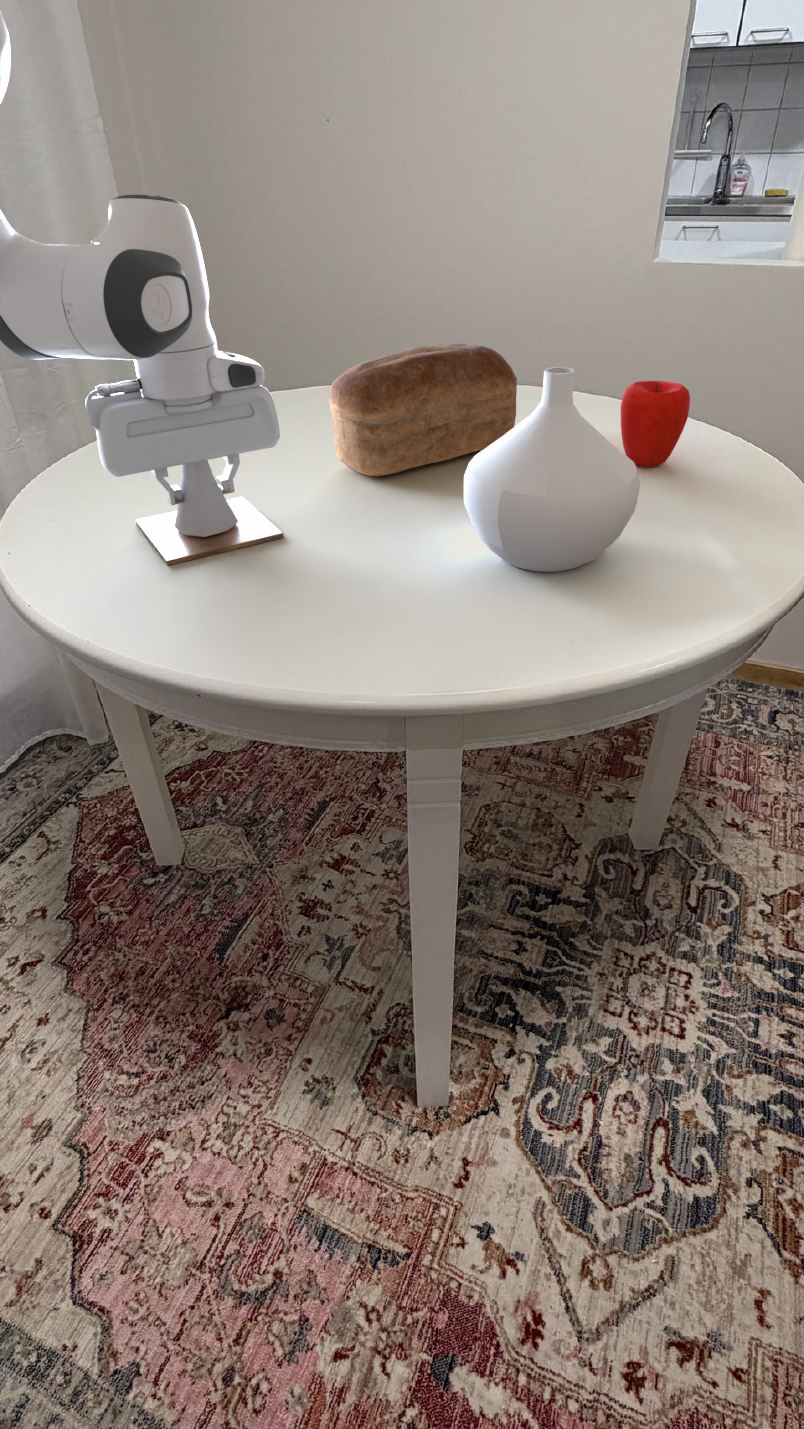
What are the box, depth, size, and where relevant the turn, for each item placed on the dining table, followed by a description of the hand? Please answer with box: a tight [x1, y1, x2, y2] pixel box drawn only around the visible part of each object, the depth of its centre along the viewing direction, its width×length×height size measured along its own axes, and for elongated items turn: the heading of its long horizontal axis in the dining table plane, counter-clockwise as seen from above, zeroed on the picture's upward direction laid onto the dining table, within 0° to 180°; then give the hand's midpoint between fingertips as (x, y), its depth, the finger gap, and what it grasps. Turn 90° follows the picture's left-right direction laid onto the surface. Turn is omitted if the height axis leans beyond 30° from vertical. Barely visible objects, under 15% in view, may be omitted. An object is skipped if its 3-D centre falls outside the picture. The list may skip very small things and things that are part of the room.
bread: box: [328, 343, 518, 477], centre depth 112 cm, size 12×28×14 cm, turn 124°
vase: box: [463, 366, 641, 573], centre depth 83 cm, size 18×18×19 cm
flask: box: [174, 460, 239, 537], centre depth 93 cm, size 7×7×10 cm
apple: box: [620, 380, 691, 468], centre depth 108 cm, size 9×9×11 cm
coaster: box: [135, 496, 285, 566], centre depth 96 cm, size 14×14×1 cm
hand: (202, 497), depth 94 cm, fingers closed on flask, 5 cm apart
